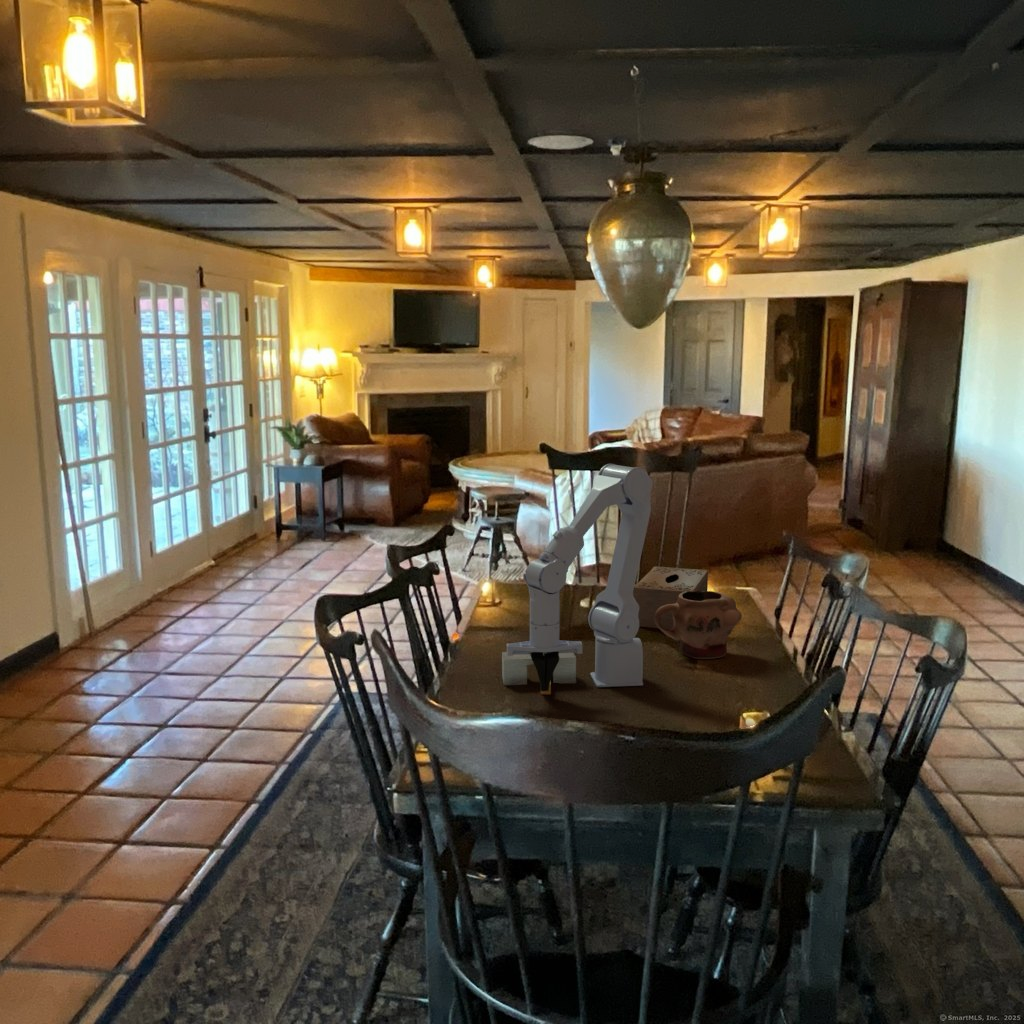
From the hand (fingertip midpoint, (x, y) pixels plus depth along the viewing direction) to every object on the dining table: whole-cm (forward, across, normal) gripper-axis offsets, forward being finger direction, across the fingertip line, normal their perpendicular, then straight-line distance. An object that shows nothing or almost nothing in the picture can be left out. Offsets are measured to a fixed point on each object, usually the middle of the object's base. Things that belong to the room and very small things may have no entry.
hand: (544, 689), depth 179 cm
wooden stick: (+1, -1, -10) cm, 10 cm away
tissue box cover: (+2, -40, -56) cm, 68 cm away
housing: (+1, 0, -10) cm, 10 cm away
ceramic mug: (+2, -37, -22) cm, 43 cm away
